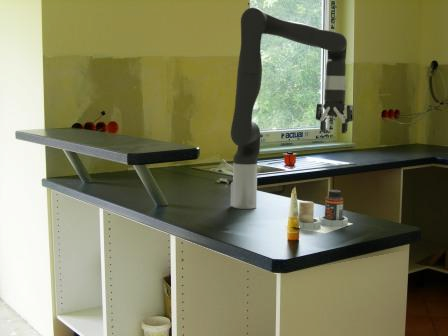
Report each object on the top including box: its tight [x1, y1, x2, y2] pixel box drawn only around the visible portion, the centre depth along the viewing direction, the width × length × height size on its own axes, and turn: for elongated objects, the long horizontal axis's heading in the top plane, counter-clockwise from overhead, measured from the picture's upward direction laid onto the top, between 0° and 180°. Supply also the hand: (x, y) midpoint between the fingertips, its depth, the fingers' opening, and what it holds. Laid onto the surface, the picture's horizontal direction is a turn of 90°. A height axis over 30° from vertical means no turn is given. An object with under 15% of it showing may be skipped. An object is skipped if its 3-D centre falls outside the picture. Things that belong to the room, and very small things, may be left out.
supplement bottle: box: [324, 189, 344, 220], centre depth 223 cm, size 6×6×11 cm
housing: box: [285, 214, 354, 234], centre depth 221 cm, size 15×19×3 cm
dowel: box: [298, 200, 315, 223], centre depth 218 cm, size 5×5×8 cm
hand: (333, 132), depth 244 cm, fingers open, 8 cm apart
